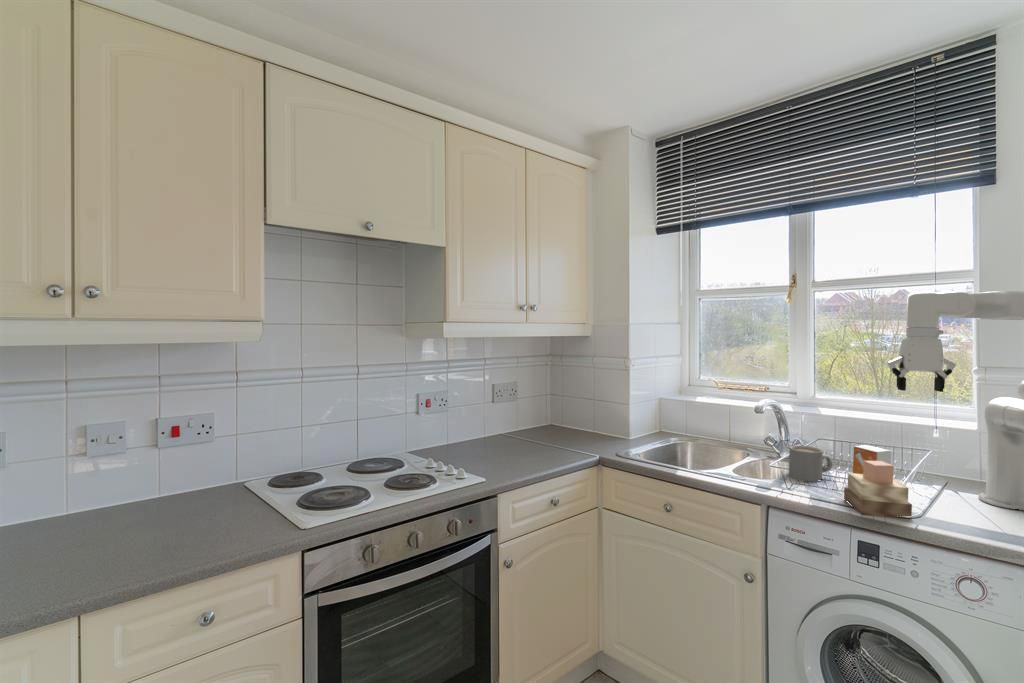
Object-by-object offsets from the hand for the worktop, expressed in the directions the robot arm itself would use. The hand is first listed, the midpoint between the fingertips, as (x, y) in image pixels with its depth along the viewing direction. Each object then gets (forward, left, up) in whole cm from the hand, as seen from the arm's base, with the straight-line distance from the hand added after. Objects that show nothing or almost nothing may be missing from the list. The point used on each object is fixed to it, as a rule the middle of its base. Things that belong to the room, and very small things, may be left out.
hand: (920, 390), depth 152 cm
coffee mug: (+24, -17, -34) cm, 44 cm away
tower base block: (+15, +11, -34) cm, 39 cm away
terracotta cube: (+16, +12, -25) cm, 31 cm away
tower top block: (+16, +11, -29) cm, 35 cm away
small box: (+8, -10, -34) cm, 36 cm away
